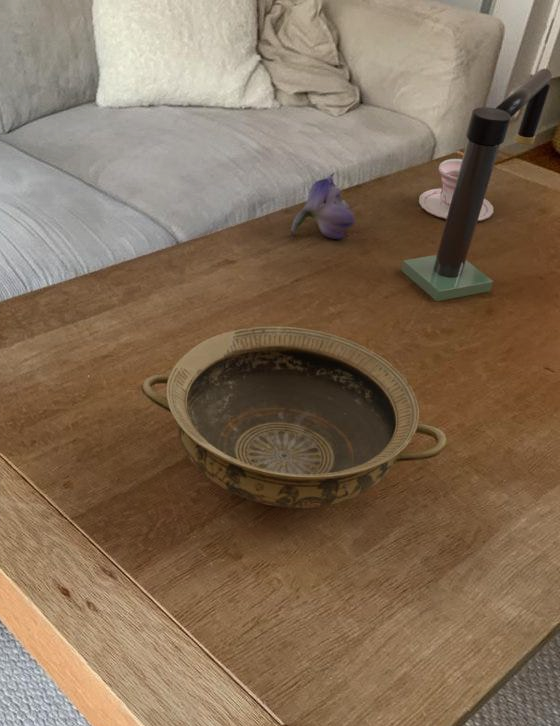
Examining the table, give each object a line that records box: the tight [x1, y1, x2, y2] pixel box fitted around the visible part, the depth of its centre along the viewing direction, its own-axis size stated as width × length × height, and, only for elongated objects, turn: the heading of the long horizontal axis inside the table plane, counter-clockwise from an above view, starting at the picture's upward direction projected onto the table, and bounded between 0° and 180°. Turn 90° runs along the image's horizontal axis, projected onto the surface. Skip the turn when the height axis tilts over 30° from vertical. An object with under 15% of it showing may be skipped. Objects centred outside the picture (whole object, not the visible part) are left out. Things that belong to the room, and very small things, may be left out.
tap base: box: [400, 138, 501, 302], centre depth 109 cm, size 9×9×20 cm
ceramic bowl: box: [141, 325, 448, 509], centre depth 81 cm, size 30×24×10 cm
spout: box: [465, 68, 553, 146], centre depth 111 cm, size 29×5×11 cm, turn 147°
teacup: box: [418, 158, 494, 222], centre depth 132 cm, size 12×12×6 cm
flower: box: [290, 172, 356, 241], centre depth 122 cm, size 9×9×10 cm
